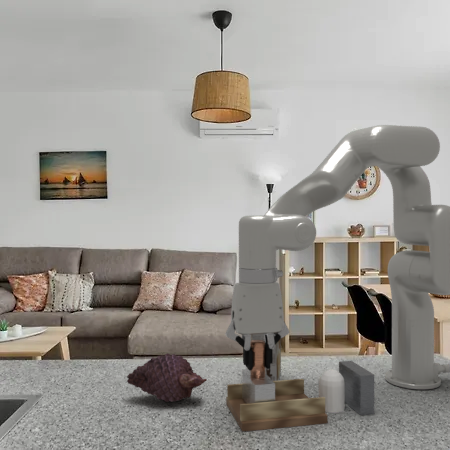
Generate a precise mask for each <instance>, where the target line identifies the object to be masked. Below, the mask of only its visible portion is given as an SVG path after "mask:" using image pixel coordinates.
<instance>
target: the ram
mask: <svg viewBox="0 0 450 450" xmlns="http://www.w3.org/2000/svg"><path fill="white" fill-rule="evenodd" d="M250 346H251V350H252V351H253V369H252V370H248V368H244V369H241V371H242V372H241V375H242V376H241V378H242V379H241V384H242V398H243V399H244V401H245V402H246V404H248V403H260V402H271V401H275V383H274V382H273V381H272V380H271V379H270V378H269V377H268V376H267V375H266V373H265V341H263V340H252V341H251V343H250Z"/></svg>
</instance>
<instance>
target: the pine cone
mask: <svg viewBox="0 0 450 450" xmlns="http://www.w3.org/2000/svg"><path fill="white" fill-rule="evenodd" d="M126 378H127V380H126V382H127V384H129V385H133V386H134V387H135V388H139V389H141V391H142V392H144V393H145V392H146V393H147V394H148V395H151V396H156V399H157V400H162V401H165V402H167V403H169V402H171V403H173V402H174V403H175V402H177V401H181V400H184V399H187V398H191V396H192V393H193V389H194V388H198V387H200V386H202V384H204V383H205V382H207V380H208V378H203V377H202V376H201V375H199V374H197V372H194V370H193V367H192V366H191V363H190V361H188V359H187V358H184V357H183V355H177V354H175V353H173V354H170V353H166V354H165V355H157V356H156V357H151V358H150V359H149V360H147V361H146V362H145V363H144V364H143V365H139V366H137V367H136V369H134V370H133V371H132V372H130V373H129V374H127V376H126Z"/></svg>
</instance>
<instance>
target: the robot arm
mask: <svg viewBox="0 0 450 450" xmlns="http://www.w3.org/2000/svg"><path fill="white" fill-rule="evenodd" d="M440 151H441V142H440V139H439V137H438V135H437V134H436V132H434V131H433V130H432V129H430V128H428V127H424V126H416V125H414V126H413V125H411V126H410V125H396V124H395V125H393V124H379V125H374V126H373V125H372V126H369V127H365V128H359V129H356V130H353V131H350V132H348V133H347V134H345V135H344V136H343V137H342V138H341V139H340V140H339V142H338V143H336V145H335V146H334V147H333V148H332V150H331V151H330V152H329V153H328V154H327V156H326V157H325V158H324V159H323V160H322V161H321V162H320V164H319V165H318V166H317V167H316V168H315V169H314V171H313V172H311V173H310V174H309V175H307V176H306V177H305V178H303V179H302V180H301V181H299V182H298V183H297V184H295V185H294V186H293V187H291V188H290V189H288V190H287V191H286V192H285V193H283V194H282V195H280V197H279V198H277V200H276V201H275V202H273V204H272V205H271V206H270V207H269V209H267V210H266V212H265V213H264V215H245V216H241V217H240V219H239V221H238V282H235V283H234V286H233V291H232V299H231V312H230V323H229V325H228V328H227V329H226V331H225V333H224V334H225V336H226V338H228V339H230V340H232V341H234V342H236V343H237V344H238V345H239V346H241V347H242V363H243V365H244V366H245V368H246V369H248V370H252V369H253V351H252V350H251V346H250V343H251V335H252V334H264V337H265V367H266V368H267V369H270V363H272V362H273V348H274V347H275V345H276V343H277V342H278V341H279V340H280V339H281V340H282V338H283V339H284V337H286V336H287V335H289V334H290V330H289V328H288V326H287V324H286V322H285V320H284V319H285V317H284V303H283V297H282V290H281V285H280V283H279V282H277V281H278V278H282V277H283V276H284V272H283V270H280V269H278V268H277V250H281V251H282V250H283V251H291V252H299V251H303V250H306V249H308V248H310V247H312V245H313V244H314V242H315V240H316V237H317V229H316V226H315V224H314V222H313V221H312V220H311V219H310V218H309V217H307V216H308V215H310V214H312V213H314V212H315V211H318V210H320V209H322V208H326V207H328V206H331V205H332V204H335V203H336V202H338V201H340V200H342V199H344V197H346V195H347V194H348V193H349V191H350V190H351V188H352V187H353V186H354V185H355V184H356V182H357V181H358V180H359V179H360V177H361V176H362V175H363V174H364V173H365V172H366V170H367V169H369V168H372V167H378V168H379V169H380V170H381V171H382V172H383V174H384V175H385V176H386V177H387V179H388V180H389V182H390V184H391V188H392V201H393V204H392V205H393V207H392V208H393V210H392V211H393V233H394V236H395V238H396V240H397V241H399V242H400V243H402V244H405V245H412V246H426V247H428V249H429V251H425V250H413V249H409V250H402V251H401V250H400V251H398V252H396V253H395V254H393V255H392V256H391V258H390V259H389V261H388V264H387V277H388V282H389V286H390V287H389V288H390V293H391V294H390V295H391V369H390V370H387V371H386V372H385V374H384V377H385V378H384V379H385V380H386V382H388V383H389V384H391V385H394V386H396V387H400V388H404V389H410V390H411V389H412V390H433V389H437V388H439V387H440V386H441V385H442V379H441V378H440V376H439V375H441V374H442V373H443V374H446V373H448V374H449V373H450V364H440V363H439V362H435V309H434V303H433V301H432V297H431V296H430V295H429V294H434V295H439V296H449V295H450V205H447V204H432V194H431V185H430V180H429V178H428V175H427V174H426V172H425V171H424V169H423V168H422V167H424V166H427V165H430V164H432V163H433V162H434V161H435V160H436V159H437V158H438V156H439V153H440ZM240 335H241V336H240Z"/></svg>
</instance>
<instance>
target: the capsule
mask: <svg viewBox="0 0 450 450" xmlns="http://www.w3.org/2000/svg"><path fill="white" fill-rule="evenodd" d="M318 397H325V413H331V414H338V413H342V412H344V411H345V406H346V405H345V404H346V403H345V382H344V378H343V376H342V375H341V374H340V373H339V370H336V369H333V368H332V369H329V368H328V369H326V370H324V371H322V373H321V374H320V376H319V378H318Z"/></svg>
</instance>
